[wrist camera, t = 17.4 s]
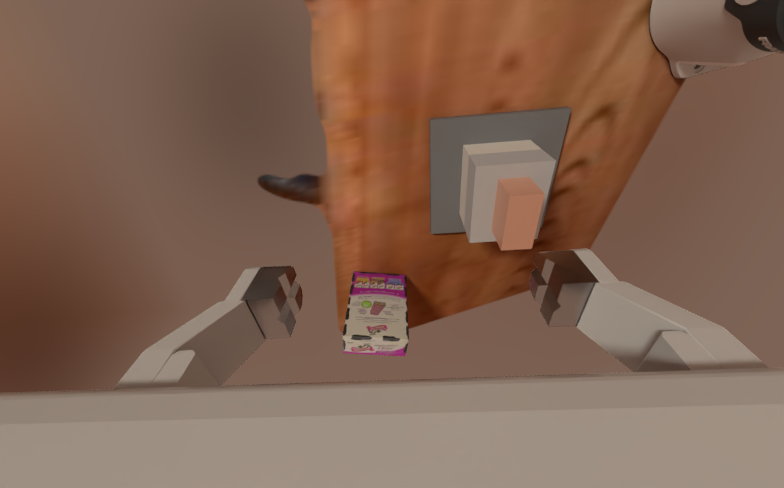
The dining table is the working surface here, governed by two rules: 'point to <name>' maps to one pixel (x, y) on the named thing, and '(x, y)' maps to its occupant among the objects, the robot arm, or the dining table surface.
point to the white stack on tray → (489, 164)
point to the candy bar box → (376, 315)
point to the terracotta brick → (516, 213)
